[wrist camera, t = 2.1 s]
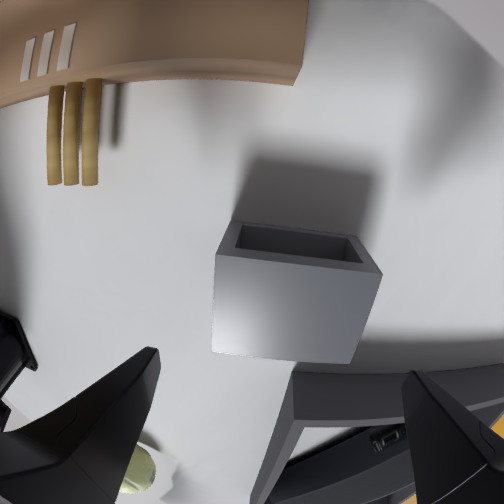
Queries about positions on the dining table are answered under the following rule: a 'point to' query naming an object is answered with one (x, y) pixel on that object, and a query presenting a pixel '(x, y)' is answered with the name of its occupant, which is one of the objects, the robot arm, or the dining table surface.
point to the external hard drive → (350, 470)
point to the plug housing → (291, 293)
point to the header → (135, 56)
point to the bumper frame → (366, 411)
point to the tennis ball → (138, 472)
